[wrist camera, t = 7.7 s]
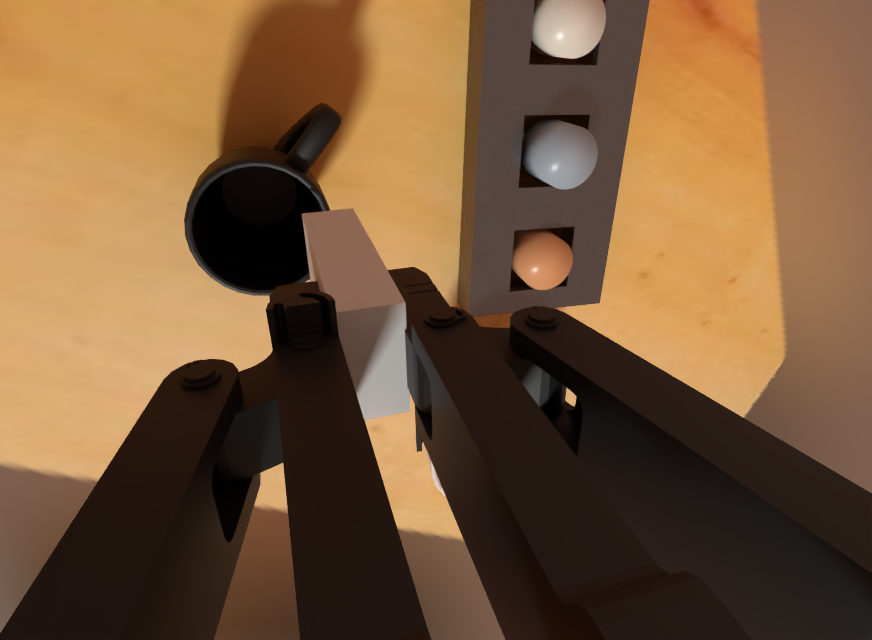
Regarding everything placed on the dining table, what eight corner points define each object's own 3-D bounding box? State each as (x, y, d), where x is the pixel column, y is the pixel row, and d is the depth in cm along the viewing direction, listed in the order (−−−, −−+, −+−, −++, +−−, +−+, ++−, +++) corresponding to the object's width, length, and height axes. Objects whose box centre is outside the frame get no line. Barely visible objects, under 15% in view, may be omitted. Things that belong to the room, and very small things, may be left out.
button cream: (526, -15, 40) (549, -19, 37) (583, -12, 41) (610, -16, 38) (520, 55, 42) (542, 57, 39) (575, 56, 43) (600, 58, 40)
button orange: (506, 225, 47) (524, 239, 44) (555, 222, 48) (576, 235, 45) (502, 275, 49) (519, 292, 46) (549, 271, 50) (569, 287, 47)
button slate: (523, 119, 42) (544, 126, 39) (577, 118, 43) (602, 125, 40) (517, 179, 44) (537, 190, 41) (569, 177, 45) (592, 188, 42)
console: (473, -57, 38) (489, -62, 36) (632, -46, 41) (657, -51, 39) (457, 301, 50) (468, 316, 47) (582, 289, 53) (599, 302, 50)
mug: (370, 134, 42) (399, 161, 34) (278, 265, 44) (283, 320, 36) (270, 56, 38) (275, 65, 30) (174, 204, 40) (155, 250, 32)
